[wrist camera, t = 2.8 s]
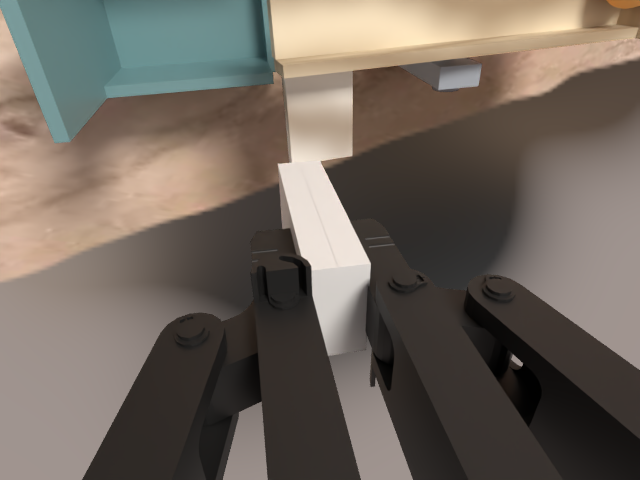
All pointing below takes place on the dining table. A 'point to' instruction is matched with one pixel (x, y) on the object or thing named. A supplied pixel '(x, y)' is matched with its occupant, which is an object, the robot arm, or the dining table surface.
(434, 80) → the stand
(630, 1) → the ball
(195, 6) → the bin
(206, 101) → the dining table surface
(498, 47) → the lever
